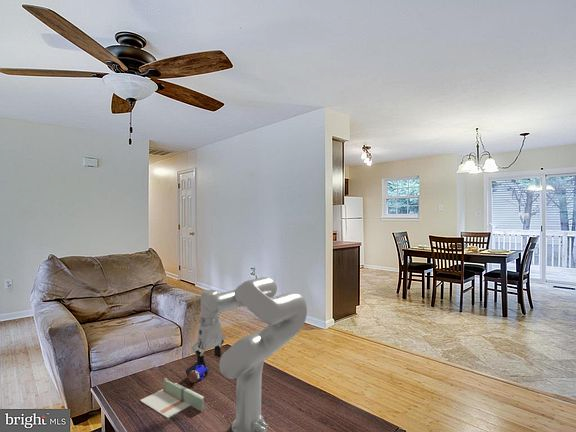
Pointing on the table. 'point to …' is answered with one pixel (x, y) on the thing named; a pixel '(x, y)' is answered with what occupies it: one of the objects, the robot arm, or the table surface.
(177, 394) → the fixed fence panel
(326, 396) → the table surface
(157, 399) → the card
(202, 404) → the hinged fence panel
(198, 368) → the character figurine
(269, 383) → the table surface
